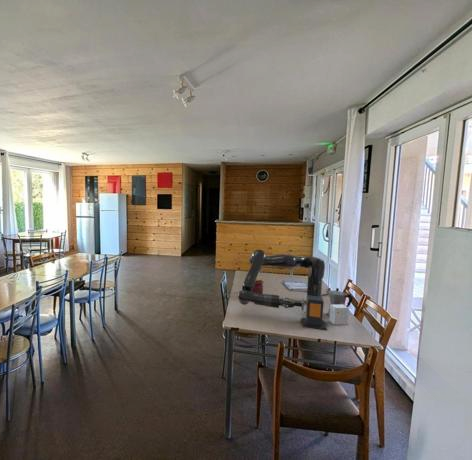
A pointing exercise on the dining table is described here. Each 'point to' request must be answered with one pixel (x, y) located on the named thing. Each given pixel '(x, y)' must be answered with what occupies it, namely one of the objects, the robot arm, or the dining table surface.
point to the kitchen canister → (258, 286)
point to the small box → (339, 314)
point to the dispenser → (314, 313)
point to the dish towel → (295, 285)
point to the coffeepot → (338, 298)
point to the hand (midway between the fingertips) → (301, 304)
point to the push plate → (302, 305)
